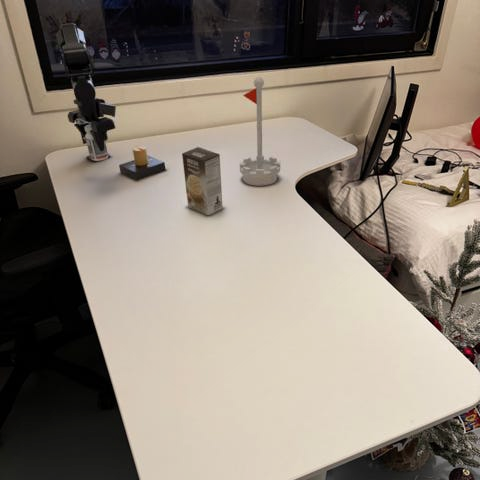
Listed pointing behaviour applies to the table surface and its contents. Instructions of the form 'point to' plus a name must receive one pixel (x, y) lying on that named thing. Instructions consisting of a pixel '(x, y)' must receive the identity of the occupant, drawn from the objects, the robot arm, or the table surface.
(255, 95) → the flag stand
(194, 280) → the table surface
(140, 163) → the handle
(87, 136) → the pill bottle
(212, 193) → the coffee box
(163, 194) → the table surface
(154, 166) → the black flat block
